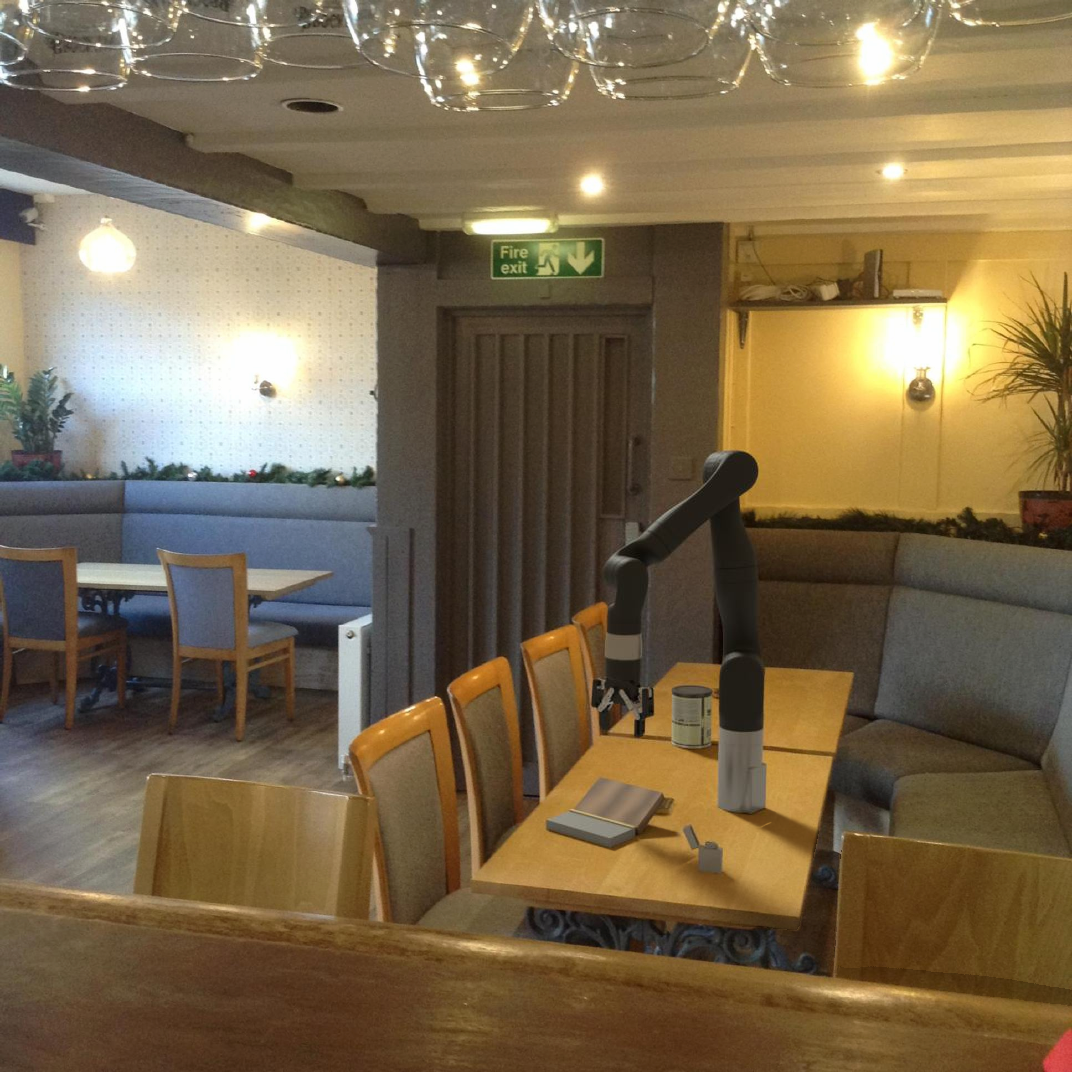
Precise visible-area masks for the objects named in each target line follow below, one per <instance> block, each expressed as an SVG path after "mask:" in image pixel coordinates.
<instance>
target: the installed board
mask: <svg viewBox="0 0 1072 1072" xmlns="http://www.w3.org/2000/svg"><path fill="white" fill-rule="evenodd" d="M545 829H546V830H548V831H549V830H550V831H552V832H556V833H558V834H563V835H566V836H569V837H572V838H576V839H579V840H583V841H586V842H588V843H589V842H590V843H593V844H596V845H600V846H603V847H607V848H611V849H612V848H613V847H616V846H618V845H620V844H623V843H624V842H626V841H629V840H631V839H634V838H635V837H636V834H635V826H632V825H629V824H625V823H621V822H618V821H614V820H610V819H607V818H603V817H600V816H596V815H592V814H589V813H585V812H581V811H578V810H574V808H569V810H568V811H566V812H563V813H561V814H558V815H555V816H553V817H550V818H548V819H546V820H545Z"/></svg>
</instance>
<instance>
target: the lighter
mask: <svg viewBox="0 0 1072 1072" xmlns="http://www.w3.org/2000/svg"><path fill="white" fill-rule="evenodd" d="M682 832H683V834H684V837H685V838H686V840H687V843H688V845H689V848H690V849H691V850H692V851H693V850H696V849H698V852H697V853H698V855H697V856H698V857H697V859H698V860H697V872H701V873H702V872H703V873H710V874H718V875H720V874H722V872H723V855H724V854H723V853H724V852H723V850H724V848H723V847H722V846H719V844H718V843H717V842H715V841H707V840H706V841H705V842H704V845H702V844H700V842H699V839H698V836H697V834H696V832H695V830H694V828H693V826H692V824H691V823H689V824H688V825H687V824H686V825H685V826H683V828H682Z"/></svg>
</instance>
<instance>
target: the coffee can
mask: <svg viewBox="0 0 1072 1072" xmlns="http://www.w3.org/2000/svg"><path fill="white" fill-rule="evenodd" d="M713 691H714V690H713V689H712V688H711V687H707V686H703V685H693V684H689V685H688V684H685V685H677V686H674V687H672V688H671V741H670V742H671V743H670V744H671V745H673V746H674V747H678V748H682V749H692V750H694V749H696V750H697V749H706V748H709V747H711V746H712V717H713V716H712V715H713V714H712V712H713V711H712V707H713V701H712V700H713Z"/></svg>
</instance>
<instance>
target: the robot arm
mask: <svg viewBox="0 0 1072 1072" xmlns="http://www.w3.org/2000/svg"><path fill="white" fill-rule="evenodd" d="M758 477H759V466H758V462H757V460H756V458H755V457H754V456H753V455H752V454H750V453H748V452H747V451H743V450H733V449H732V450H720V451H716V452H713V453H711V454H710V455H708V457H707V458H706V459H705V462H703V466H702V486H701V487H700V488H699V489H698V490H697V491H695V492H694V493H693V494H692V495H690V496H689V497H687V498H685V499H684V500H682V501H681V502H679V503H678V504H676V505H675V506H673V507H672V508H670V509H669V510H667V511H666V512H665V513H663V514H662V515H660V516H659V518H657V519H656V520H655V521H653V523H652V524H651V525H650V526H649V527H648V528H647V529H645V531H644V532H642V534H640V536H639V537H637V538H635V539H634V540H632V541H631V542H628V543H627V544H626V545H624V546H623V547H622V548H620V549H619V550H617V551H616V552H614V553H613V554H612V555H611V556H610V557H609V558H608V560H607V561H606V562H605V564H604V566H603V569H602V578H603V582H604V583H605V584H606V585H607V586H608V587H609V588H611V589H613V590H616V594H615V599H614V603H612V604H610V605H609V606H608V607H607V612H606V613H607V614H606V635H605V642H604V646H605V647H604V672H603V673H604V677H605V678H604V677H598V678H594V679H593V680H592V683H591V684H592V686H591V698H590V699H591V700H590V706H591V707H592V708H595V709H597V711H598V712H599V713H598V715H599V716H598V718H599V719H598V721H599V722H598V724H599V727H600V731H608V730H610V728H611V727H610V726H611V711H610V709H611V707H612V706H613V704H615V705H619V704H620V705H621V706H624V707H625V706H626V707H627V708H628V711H631V713H632V714H633V716H634V718H635V719H634V723H633V725H634V729H633V736H634V738H637V739H639V738H641V737H643V736H644V735H645V733H646V720H647V718H651V717H654V716H655V694H654V693H655V692H654V691H655V689H654V687H653V686H647V687H643V686H642V685H641V683H640V681H641V678H642V673H643V671H642V668H643V639H642V624H643V623H642V620H643V618H642V612H643V609H644V605H645V602H646V599H647V594H648V588H649V583H650V582H649V579H650V577H649V572H648V569H647V568H648V567H650V566H652V565H656V564H661V563H662V562H664V561H665V560H666V559H668V558H669V557H670V556H671V555H672V554H673V553H674V552H675V551H676V550H677V549H678V548H679V547H680V546H681V545H682V544H684V542H685V541H686V540H687V539H688V538H689V537H691V535H693V534H694V533H695V532H696V531H697V530H698V529H699V528H701V527H702V526H703V525H704V524H705V523H706V522H707V521H709V530H710V545H711V553H712V554H711V555H712V556H711V558H712V559H711V560H712V574H713V575H712V576H713V587H714V593H715V598H716V603H717V608H718V611H719V615H720V619H721V625H722V635H723V637H722V638H723V640H722V642H723V645H722V647H723V648H722V651H723V652H722V662H721V666H720V669H719V675H718V753H717V755H718V757H717V758H718V761H717V766H718V767H717V796H716V797H717V806H718V808H719V809H722V810H724V811H727V812H731V813H739V814H740V813H741V814H750V815H751V814H754V813H756V812H759V811H761V810H762V809H765V808H766V803H767V802H766V800H767V797H766V796H767V763H765V762H763V759H764V758H763V756H764V726H765V725H764V721H765V713H764V712H765V711H764V710H765V707H764V705H765V704H764V703H765V677H766V668H765V667H766V666H765V663H764V662H765V661H764V657H763V654H762V648H761V641H760V637H759V629H758V616H759V615H758V614H759V613H758V611H759V570H758V561H757V554H756V552H755V547H754V544H753V543H752V540H751V538H750V536H749V534H748V532H747V529H746V526H745V524H744V521H743V518H742V514H741V513H742V512H741V496H742V495H744V494H745V493H747V492H749V491H750V490H751V489H752V488H753V486H755V484H756V483H757V480H758ZM605 690H606V691H605ZM604 691H605V692H607V693H606V694H605V695H604Z"/></svg>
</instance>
